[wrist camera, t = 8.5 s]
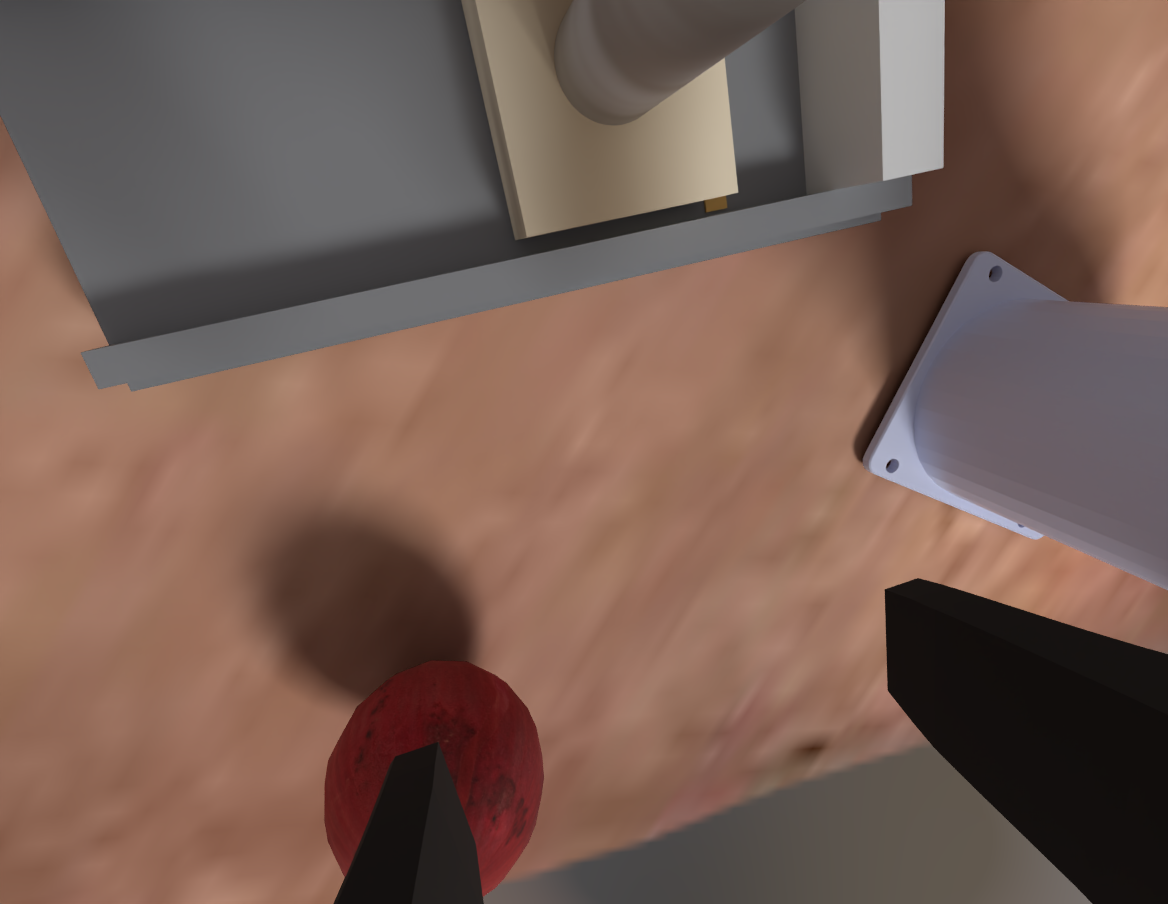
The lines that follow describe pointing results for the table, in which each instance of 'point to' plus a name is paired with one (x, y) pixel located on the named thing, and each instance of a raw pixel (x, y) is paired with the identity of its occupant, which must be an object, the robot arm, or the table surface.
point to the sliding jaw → (610, 102)
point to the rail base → (398, 165)
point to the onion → (469, 745)
